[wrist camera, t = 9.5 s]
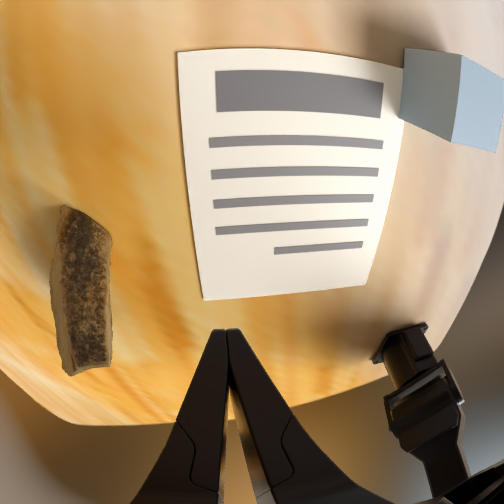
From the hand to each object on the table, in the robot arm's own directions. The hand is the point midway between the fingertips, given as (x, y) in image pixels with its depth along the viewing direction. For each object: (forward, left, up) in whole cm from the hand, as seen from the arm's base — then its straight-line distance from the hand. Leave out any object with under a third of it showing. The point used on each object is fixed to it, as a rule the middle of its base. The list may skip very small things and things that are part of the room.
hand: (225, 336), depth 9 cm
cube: (+8, -14, -11) cm, 19 cm away
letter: (0, -5, -11) cm, 12 cm away
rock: (-6, +11, -11) cm, 17 cm away
